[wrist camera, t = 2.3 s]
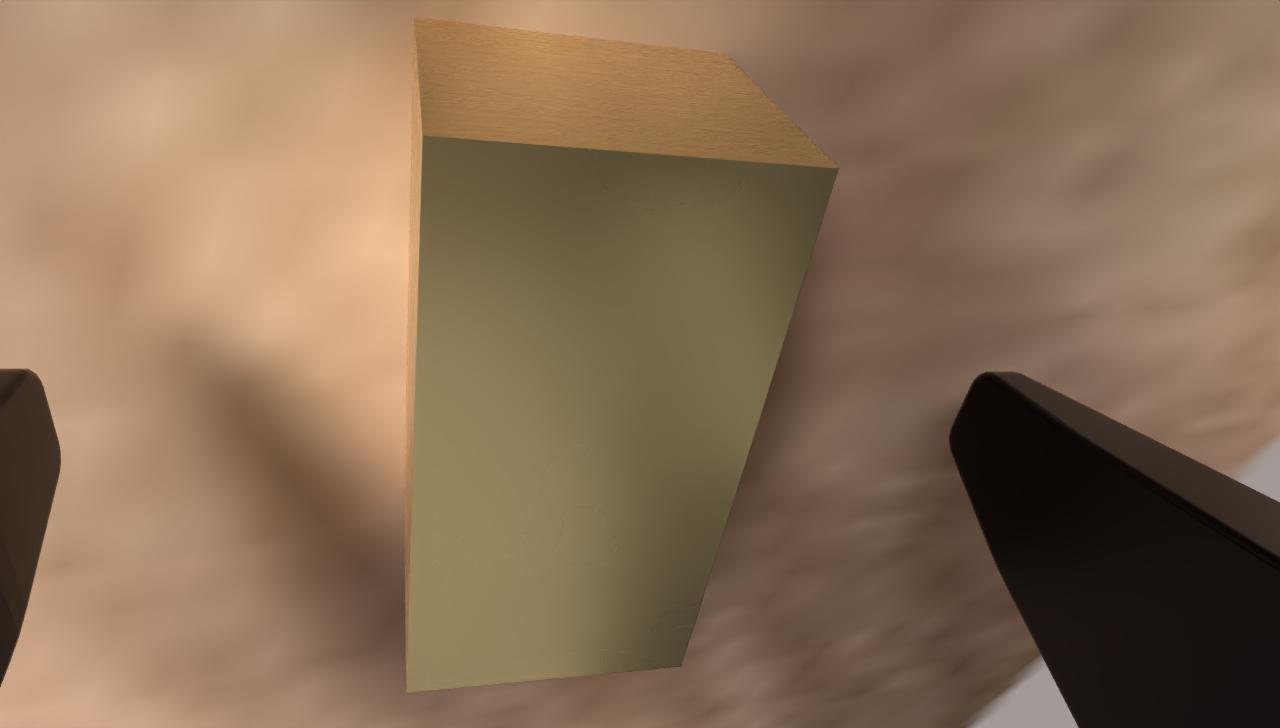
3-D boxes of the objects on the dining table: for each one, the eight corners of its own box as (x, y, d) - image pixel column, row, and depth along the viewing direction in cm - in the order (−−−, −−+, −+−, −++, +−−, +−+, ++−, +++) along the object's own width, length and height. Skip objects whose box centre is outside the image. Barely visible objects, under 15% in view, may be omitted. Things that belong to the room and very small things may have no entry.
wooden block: (719, 48, 9) (839, 168, 6) (625, 483, 12) (680, 666, 10) (414, 11, 8) (423, 134, 6) (404, 490, 11) (405, 692, 9)
